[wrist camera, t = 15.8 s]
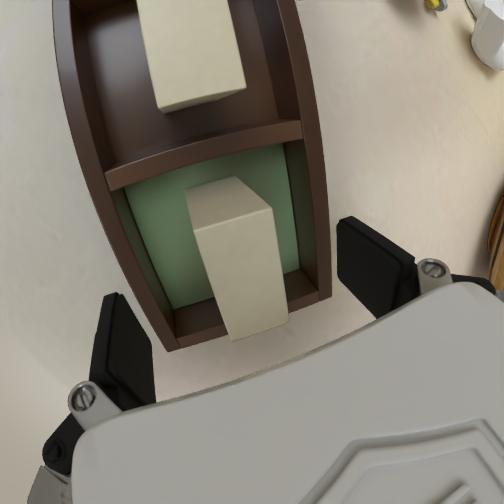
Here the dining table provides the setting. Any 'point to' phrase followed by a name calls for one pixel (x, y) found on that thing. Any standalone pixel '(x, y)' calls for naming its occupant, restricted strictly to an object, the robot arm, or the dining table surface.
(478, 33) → the sculpture
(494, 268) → the ceramic bowl
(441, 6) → the reed diffuser
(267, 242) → the cream rectangular block
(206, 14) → the block
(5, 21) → the dining table surface
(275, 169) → the tray
